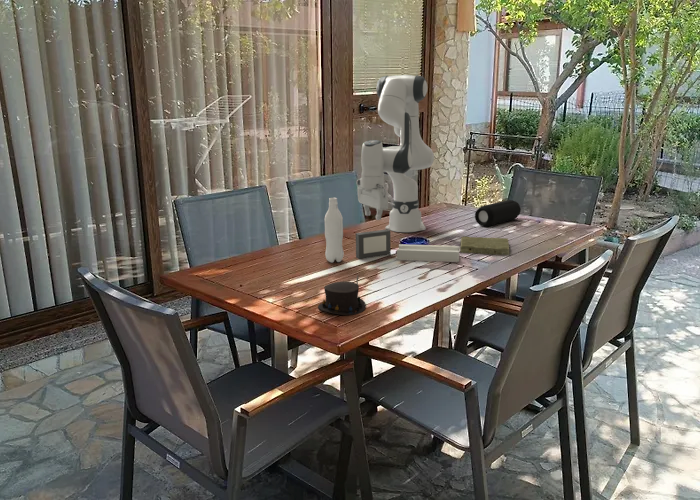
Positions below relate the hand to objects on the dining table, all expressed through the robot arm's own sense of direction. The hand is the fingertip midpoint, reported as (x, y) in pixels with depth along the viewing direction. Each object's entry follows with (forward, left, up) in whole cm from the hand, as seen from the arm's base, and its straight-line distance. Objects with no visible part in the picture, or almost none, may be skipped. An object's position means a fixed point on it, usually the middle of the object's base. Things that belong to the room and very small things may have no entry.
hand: (373, 217), depth 247 cm
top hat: (+59, -1, -16) cm, 61 cm away
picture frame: (0, 0, -16) cm, 16 cm away
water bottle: (+9, -14, -16) cm, 23 cm away
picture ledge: (0, +22, -16) cm, 27 cm away
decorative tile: (-17, +44, -17) cm, 50 cm away
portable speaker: (-66, +51, -16) cm, 85 cm away
